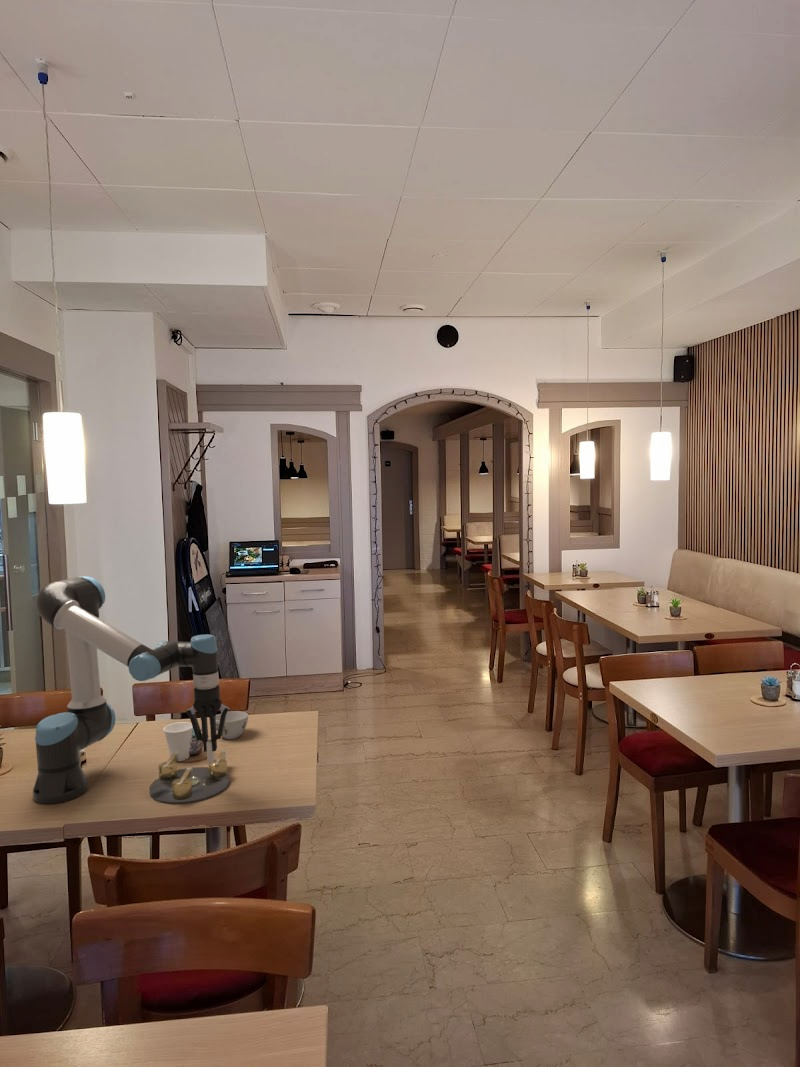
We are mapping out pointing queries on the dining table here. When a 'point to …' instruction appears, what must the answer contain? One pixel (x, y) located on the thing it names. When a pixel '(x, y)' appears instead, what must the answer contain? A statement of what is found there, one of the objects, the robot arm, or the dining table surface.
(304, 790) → the dining table surface
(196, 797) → the plate
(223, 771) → the knob right
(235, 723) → the teacup
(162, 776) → the knob left
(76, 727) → the robot arm
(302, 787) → the dining table surface
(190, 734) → the cup
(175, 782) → the knob front
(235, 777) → the dining table surface
